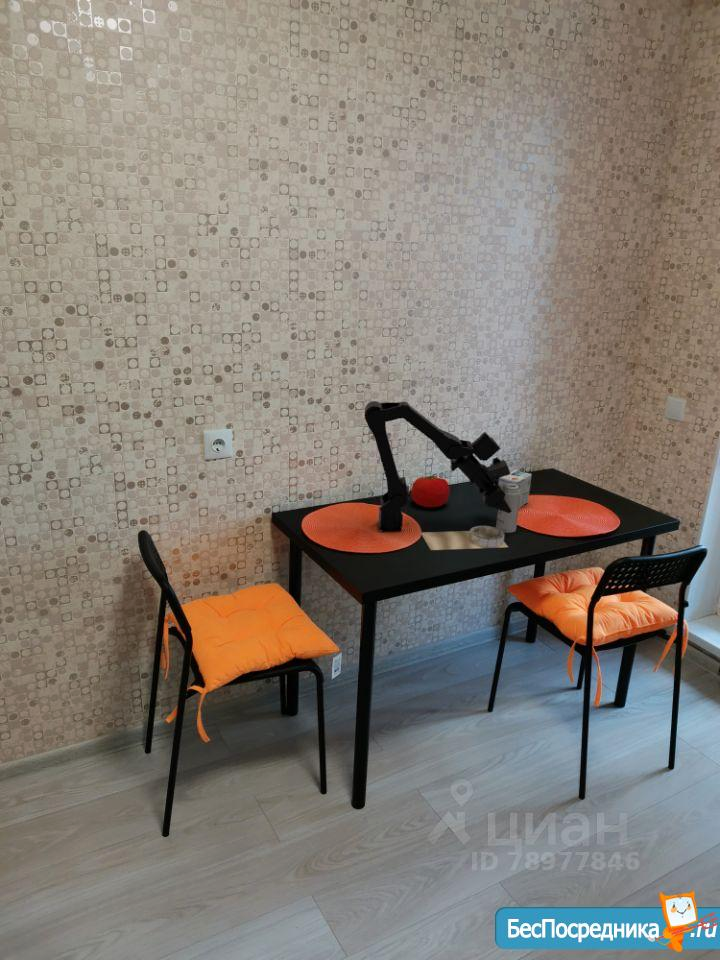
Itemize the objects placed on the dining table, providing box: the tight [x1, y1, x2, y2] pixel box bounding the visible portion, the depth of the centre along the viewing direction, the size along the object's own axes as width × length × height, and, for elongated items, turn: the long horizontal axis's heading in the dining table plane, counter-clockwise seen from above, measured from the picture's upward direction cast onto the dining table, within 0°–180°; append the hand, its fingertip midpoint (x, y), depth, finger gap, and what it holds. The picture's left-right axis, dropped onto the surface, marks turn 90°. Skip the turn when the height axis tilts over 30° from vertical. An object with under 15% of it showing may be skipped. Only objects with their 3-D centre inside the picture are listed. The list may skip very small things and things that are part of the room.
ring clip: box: [469, 525, 505, 549], centre depth 214 cm, size 10×10×2 cm
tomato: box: [410, 474, 451, 508], centre depth 241 cm, size 11×13×10 cm
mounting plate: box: [420, 530, 509, 551], centre depth 215 cm, size 23×12×1 cm, turn 100°
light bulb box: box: [498, 469, 533, 508], centre depth 243 cm, size 11×7×11 cm, turn 141°
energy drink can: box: [495, 483, 521, 534], centre depth 221 cm, size 6×6×15 cm
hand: (507, 506), depth 221 cm, fingers open, 9 cm apart
